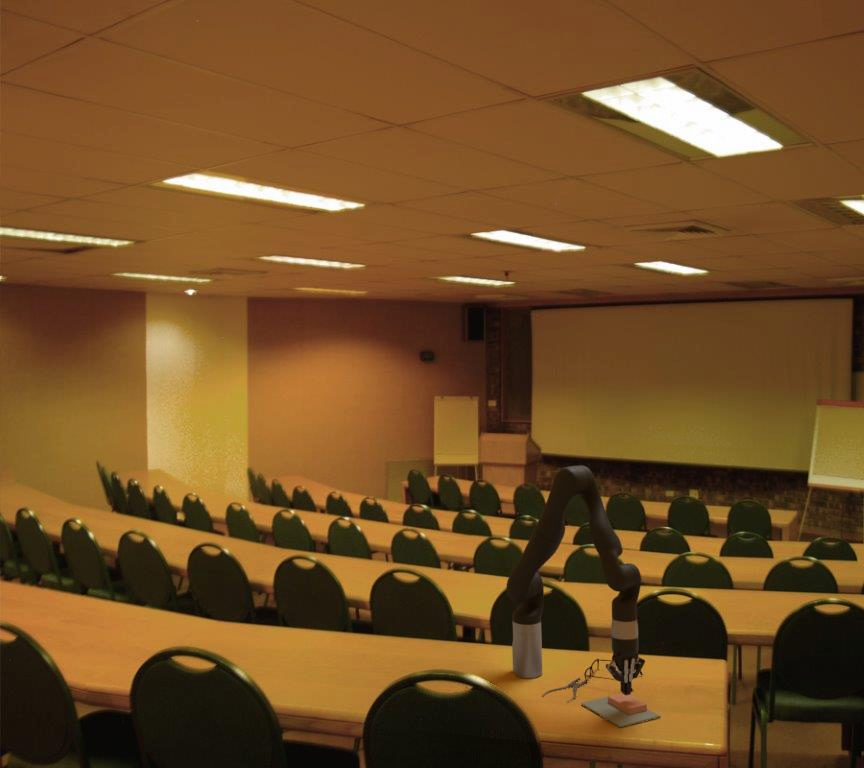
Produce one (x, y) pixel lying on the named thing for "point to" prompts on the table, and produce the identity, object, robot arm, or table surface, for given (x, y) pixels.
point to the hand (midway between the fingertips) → (626, 694)
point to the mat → (618, 713)
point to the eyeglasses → (597, 669)
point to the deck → (627, 703)
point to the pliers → (572, 684)
